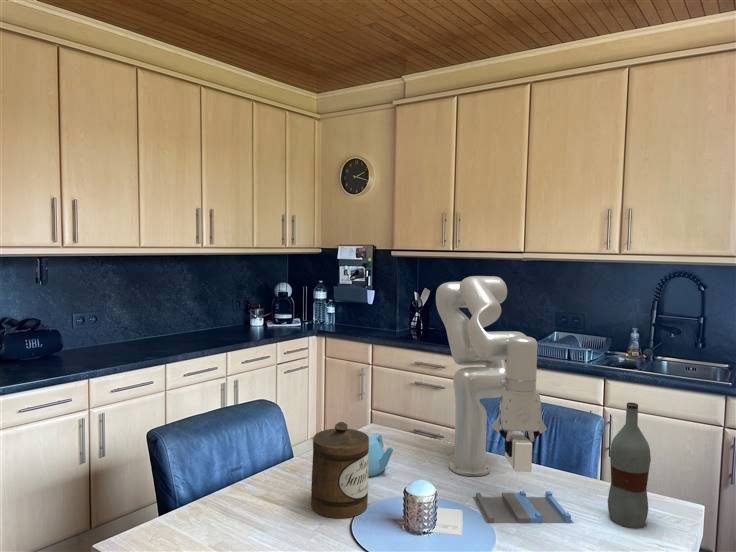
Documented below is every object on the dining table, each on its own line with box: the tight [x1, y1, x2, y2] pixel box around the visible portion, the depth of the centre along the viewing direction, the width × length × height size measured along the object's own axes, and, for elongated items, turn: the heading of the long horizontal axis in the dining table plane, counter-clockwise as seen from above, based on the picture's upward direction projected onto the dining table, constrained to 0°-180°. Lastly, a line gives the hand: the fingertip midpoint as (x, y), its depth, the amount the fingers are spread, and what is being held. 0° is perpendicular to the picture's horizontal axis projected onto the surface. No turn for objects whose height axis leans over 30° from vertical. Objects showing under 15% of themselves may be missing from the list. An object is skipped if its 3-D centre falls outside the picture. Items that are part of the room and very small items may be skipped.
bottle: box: [607, 401, 652, 529], centre depth 137 cm, size 9×9×30 cm
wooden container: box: [310, 421, 370, 519], centre depth 142 cm, size 15×15×22 cm
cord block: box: [504, 431, 533, 473], centre depth 140 cm, size 10×4×7 cm, turn 0°
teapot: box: [366, 432, 394, 478], centre depth 165 cm, size 15×15×11 cm
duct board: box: [472, 490, 575, 524], centre depth 140 cm, size 14×22×3 cm, turn 92°
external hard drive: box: [427, 507, 464, 536], centre depth 134 cm, size 2×8×12 cm
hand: (518, 454), depth 140 cm, fingers closed on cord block, 4 cm apart
